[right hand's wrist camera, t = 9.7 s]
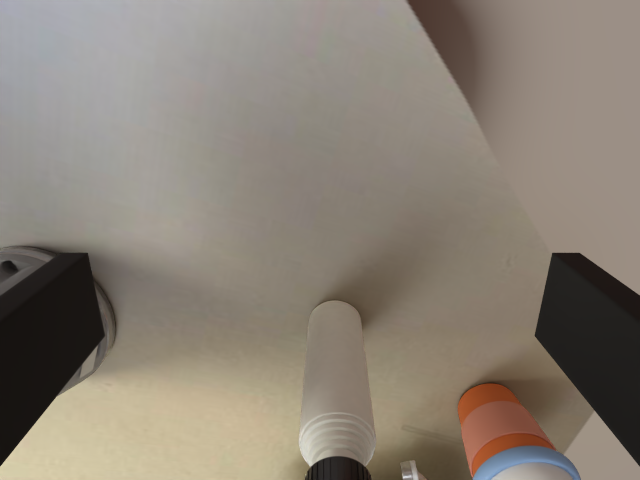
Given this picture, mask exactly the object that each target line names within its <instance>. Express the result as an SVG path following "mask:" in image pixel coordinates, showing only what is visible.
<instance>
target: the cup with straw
mask: <svg viewBox="0 0 640 480" xmlns="http://www.w3.org/2000/svg"><path fill="white" fill-rule="evenodd" d="M458 414H459V419H460V423H461V427H462V430H461V434H462V439H463V443H464V447H465V451H466V456H467V460H468V464H469V468H470V472H471V475H472V478H473V479H472V480H581V479H580V476H579V473H578V471H577V469H576V468H575V466H574V465H573V463H572V462H571V461H570V460H569V459H568V458H567V457H565V456H564V455H563V454H561V453H559V452H557V451H556V449H555V447H554V446H553V444H552V443H551V441H550V440H549V439H548V437H547V436H546V435H545V433H544V432H543V431H542V429H541V428H540V426H539V425H538V424H537V422H536V421H535V420H534V418H533V417H532V416H531V414H530V413H529V412H528V411H527V410H526V409H525V408H524V407H523V406H522V405H521V404H520V402H519V401H518V400H517V398H516V397H515V395H514V394H513V393H512V392H511V391H510V390H509V389H508V388H506V387H504V386H502V385H499V384H492V383H488V384H481V385H478V386H475V387H473V388H471V389H470V390H468V391H467V392H466V393H465V394H464V395H463V396H462V397H461V399H460V401H459V404H458Z"/></svg>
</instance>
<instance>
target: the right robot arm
mask: <svg viewBox="0 0 640 480" xmlns="http://www.w3.org/2000/svg"><path fill="white" fill-rule="evenodd" d="M535 337H536V338H537V339H538V341H539V342H540V343H541V344H542V346H543V347H544V348H545V349H546V351H547V352H548V353H549V354H550V355H551V357H552V358H553V359H554V360H555V362H556V363H557V364H558V365H559V367H560V368H561V369H562V370H563V372H564V373H565V374H566V375H567V377H568V378H569V379H570V380H571V382H572V383H573V384H574V385H575V387H576V388H577V389H578V390H579V392H580V393H581V394H582V395H583V396H584V398H585V399H586V400H587V401H588V403H589V404H590V405H591V406H592V408H593V409H594V410H595V411H596V413H597V414H598V415H599V416H600V418H601V419H602V420H603V421H604V423H605V424H606V425H607V426H608V428H609V429H610V430H611V431H612V432H613V434H614V435H615V436H616V437H617V439H618V440H619V441H620V442H621V444H622V445H623V446H624V447H625V449H626V450H627V451H628V452H629V454H630V455H631V456H632V457H633V459H634V460H635V461H636V462H637V463H638V465H639V466H640V295H638V294H637V293H635V292H634V291H633V290H631V289H630V288H628V287H627V286H626V285H624V284H623V283H621V282H620V281H618V280H617V279H616V278H614V277H613V276H611V275H610V274H609V273H607V272H606V271H604V270H603V269H602V268H600V267H599V266H597V265H596V264H594V263H593V262H592V261H590V260H589V259H587V258H586V257H585V256H583V255H582V254H580V253H552V257H551V262H550V266H549V271H548V276H547V280H546V285H545V290H544V294H543V299H542V304H541V309H540V313H539V318H538V323H537V327H536V332H535ZM114 338H115V319H114V315H113V311H112V308H111V306H110V303H109V301H108V299H107V297H106V295H105V294H104V292H103V291H102V289H101V288H100V287H99V285H98V284H97V283H96V282H95V281H94V280H93V276H92V271H91V266H90V262H89V257H88V253H60V254H58V255H57V254H55V253H52V252H49V251H46V250H42V249H38V248H33V247H21V246H16V247H6V248H1V249H0V466H1V465H2V464H3V462H4V461H5V460H6V459H7V457H8V456H9V455H10V454H11V452H12V451H13V450H14V449H15V447H16V446H17V445H18V444H19V442H20V441H21V440H22V439H23V437H24V436H25V435H26V434H27V433H28V431H29V430H30V429H31V428H32V426H33V425H34V424H35V423H36V421H37V420H38V419H39V418H40V416H41V415H42V414H43V413H44V411H45V410H46V409H47V408H48V406H49V405H50V404H51V403H52V401H53V400H54V399H55V398H56V397H57V396H58V395H60V394H62V393H63V392H65V391H67V390H68V389H70V388H72V387H73V386H75V385H77V384H78V383H80V382H82V381H83V380H84V379H86V378H87V377H89V376H90V375H91V374H92V373H93V372H94V371H95V370H96V369H97V368H98V367H99V366H100V364H101V363H102V362H103V360H104V359H105V358H106V357H107V355H108V353H109V352H110V350H111V348H112V345H113V342H114Z"/></svg>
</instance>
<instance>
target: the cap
mask: <svg viewBox="0 0 640 480" xmlns="http://www.w3.org/2000/svg"><path fill="white" fill-rule="evenodd" d="M305 480H371V475H370V474H369V472H368V470H367V468H366V467H365V466H364V465H363V464H362V463H360V462H359V461H357V460H355V459H352V458H349V457H344V456H331V457H327V458H323V459H321V460H319V461H317V462H316V463H314V464H313V465H312V466H311V467H310V469H309V470H308V471H307V474H306V476H305Z"/></svg>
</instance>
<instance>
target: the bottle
mask: <svg viewBox="0 0 640 480" xmlns="http://www.w3.org/2000/svg"><path fill="white" fill-rule="evenodd" d="M375 446H376V436H375V428H374V420H373V412H372V404H371V396H370V388H369V380H368V372H367V364H366V356H365V348H364V340H363V332H362V324H361V318H360V315H359V313H358V311H357V310H356V309H355V308H354V307H353V306H351V305H350V304H348V303H346V302H343V301H337V300H333V301H327V302H324V303H322V304H320V305H318V306H317V307H316V308H315V309H314V310H313V311H312V313H311V314H310V317H309V322H308V333H307V345H306V358H305V370H304V382H303V394H302V406H301V418H300V430H299V447H300V450H301V453H302V456H303V458H304V459H305V461H306V462H307V463H308V465H309V466H310V467H311V466H312V465H313V464H314V463H316V462H317V461H319V460H321V459H323V458H327V457H331V456H344V457H349V458H352V459H355V460H357V461H359V462H360V463H362V464H363V465H364V466H366V465H367V464H368V462H369V461H370V460H371V458H372V456H373V454H374V450H375Z"/></svg>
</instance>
